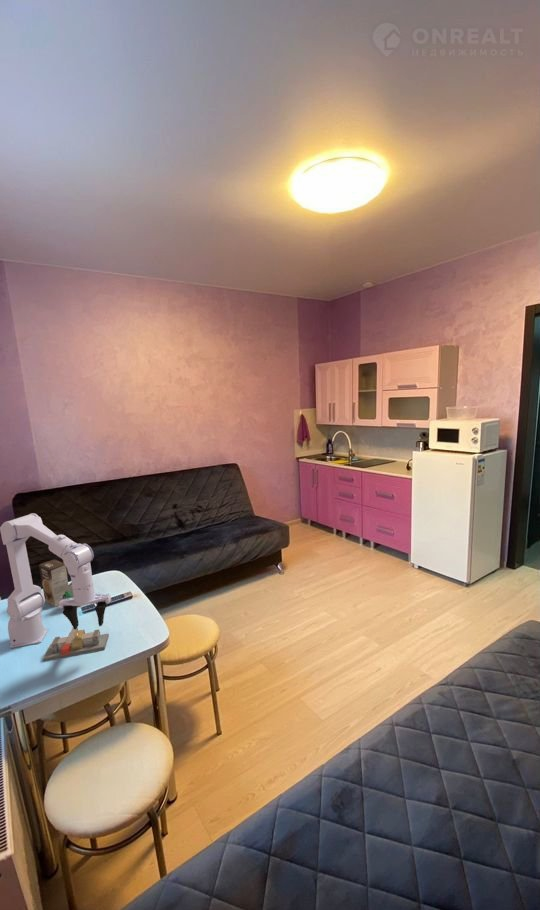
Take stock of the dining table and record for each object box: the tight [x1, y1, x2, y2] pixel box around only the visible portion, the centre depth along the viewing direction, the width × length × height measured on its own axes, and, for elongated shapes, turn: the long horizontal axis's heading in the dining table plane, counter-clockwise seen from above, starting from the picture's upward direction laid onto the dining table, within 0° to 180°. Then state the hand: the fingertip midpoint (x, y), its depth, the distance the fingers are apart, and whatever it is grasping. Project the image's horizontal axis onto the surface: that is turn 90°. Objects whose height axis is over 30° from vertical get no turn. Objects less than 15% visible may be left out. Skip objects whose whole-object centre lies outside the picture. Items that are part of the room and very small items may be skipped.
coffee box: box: [38, 558, 69, 608], centre depth 155 cm, size 9×6×16 cm
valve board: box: [42, 633, 110, 662], centre depth 125 cm, size 18×7×1 cm, turn 103°
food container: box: [63, 582, 82, 608], centre depth 153 cm, size 12×6×10 cm, turn 168°
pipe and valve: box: [50, 629, 101, 653], centre depth 124 cm, size 14×4×4 cm, turn 103°
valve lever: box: [61, 626, 79, 655], centre depth 119 cm, size 12×2×2 cm, turn 13°
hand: (88, 625), depth 119 cm, fingers open, 7 cm apart
